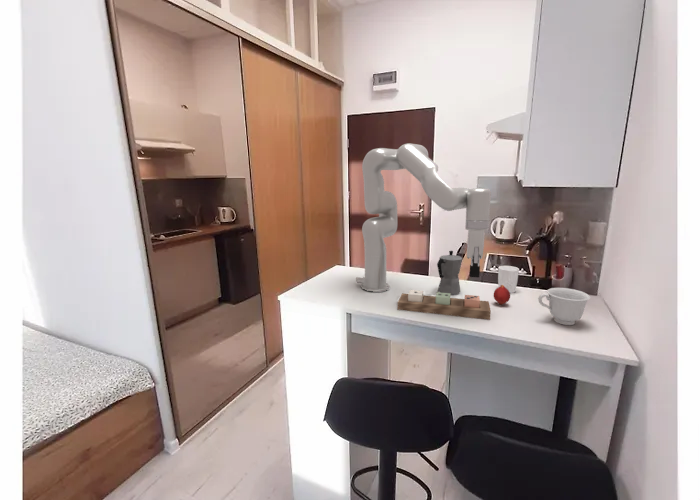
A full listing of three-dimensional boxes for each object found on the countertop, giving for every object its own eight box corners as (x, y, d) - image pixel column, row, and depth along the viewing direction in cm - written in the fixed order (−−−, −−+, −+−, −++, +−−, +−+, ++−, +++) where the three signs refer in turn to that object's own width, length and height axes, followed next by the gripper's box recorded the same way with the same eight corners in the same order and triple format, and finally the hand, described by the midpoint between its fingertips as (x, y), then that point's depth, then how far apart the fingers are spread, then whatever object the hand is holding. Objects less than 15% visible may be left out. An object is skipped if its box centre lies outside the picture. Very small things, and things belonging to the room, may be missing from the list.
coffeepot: (448, 285, 149) (450, 246, 146) (467, 290, 142) (470, 250, 138) (427, 293, 140) (428, 252, 136) (446, 299, 133) (448, 255, 129)
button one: (408, 302, 124) (408, 293, 123) (410, 297, 129) (410, 289, 128) (421, 303, 122) (421, 294, 122) (423, 298, 127) (423, 290, 126)
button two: (435, 304, 121) (435, 296, 120) (436, 300, 125) (436, 291, 125) (449, 306, 119) (450, 297, 119) (450, 301, 124) (450, 292, 123)
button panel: (397, 309, 123) (397, 302, 123) (402, 300, 133) (402, 293, 132) (490, 319, 113) (490, 311, 113) (488, 308, 122) (488, 301, 122)
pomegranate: (496, 300, 130) (498, 281, 129) (511, 304, 126) (513, 284, 125) (490, 304, 127) (491, 284, 125) (505, 308, 122) (507, 288, 121)
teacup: (528, 313, 118) (531, 287, 116) (573, 314, 116) (577, 287, 114) (544, 328, 106) (548, 299, 104) (594, 330, 104) (599, 300, 102)
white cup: (492, 289, 144) (494, 267, 142) (505, 286, 147) (507, 264, 145) (507, 294, 137) (509, 271, 135) (521, 292, 140) (523, 269, 138)
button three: (464, 307, 118) (464, 298, 117) (464, 302, 122) (464, 294, 122) (479, 309, 116) (479, 300, 115) (478, 304, 121) (479, 295, 120)
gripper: (465, 222, 121) (463, 270, 125) (465, 227, 107) (463, 282, 111) (487, 222, 119) (484, 271, 122) (490, 228, 105) (487, 283, 109)
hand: (474, 276), depth 117 cm, fingers closed
